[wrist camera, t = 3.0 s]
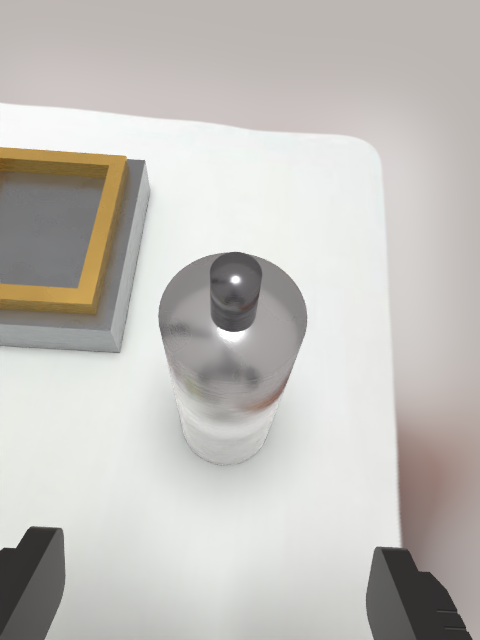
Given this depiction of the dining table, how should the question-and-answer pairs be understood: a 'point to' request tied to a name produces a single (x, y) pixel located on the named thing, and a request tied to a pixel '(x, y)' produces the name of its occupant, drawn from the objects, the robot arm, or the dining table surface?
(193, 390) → the spout can
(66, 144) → the dining table surface
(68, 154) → the grey square tray
